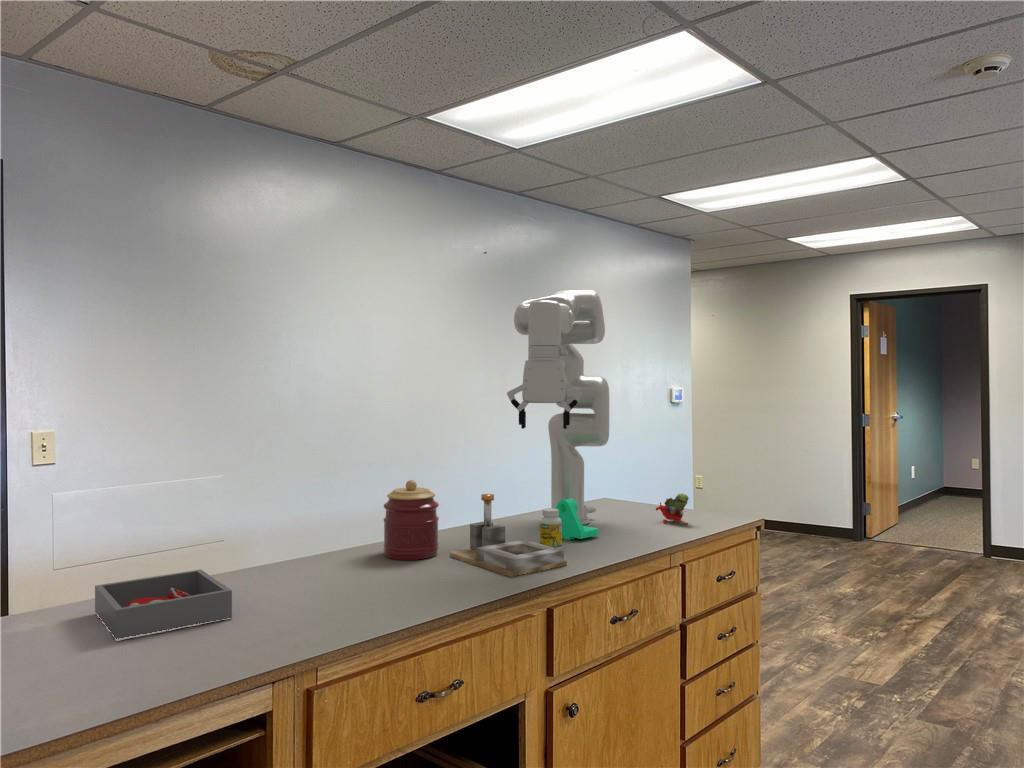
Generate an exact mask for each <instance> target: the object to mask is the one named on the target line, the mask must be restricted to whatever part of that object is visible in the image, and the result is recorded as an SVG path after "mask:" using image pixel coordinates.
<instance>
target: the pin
mask: <svg viewBox="0 0 1024 768" xmlns="http://www.w3.org/2000/svg"><path fill="white" fill-rule="evenodd" d="M480 496H481V498H480V499H481V501H483V522H484V527H487V526H491V523H492V501H494V500H495V494H493V493H482V494H481V495H480Z"/></svg>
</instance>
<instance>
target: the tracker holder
mask: <svg viewBox="0 0 1024 768" xmlns="http://www.w3.org/2000/svg"><path fill="white" fill-rule="evenodd" d="M170 590H171V591H172V592H170V593H169V597H150V598H139V599H135V600H132V601H131V602H130V603H128V604H127V605H126V607H129V606H135V605H141V604H147V603H152V602H158V601H164V600H170V599H176V598H181V597H187V596H190V595H189V594H188V593H185V592H183V591H180V590H176V589H174V588H170Z"/></svg>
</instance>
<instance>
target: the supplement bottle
mask: <svg viewBox="0 0 1024 768" xmlns="http://www.w3.org/2000/svg"><path fill="white" fill-rule="evenodd" d="M541 514H542V516H543V517H541V518H540V520H539V544H542V545H546V546H549V547H553V548H557V549H561V550H562V548H563V539H562V521H561V519H560V518H559V517H558V516H559V510H558V509H553V508H551V507H550V508H549V507H548V508H544V509H543V508H542V513H541Z"/></svg>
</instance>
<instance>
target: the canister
mask: <svg viewBox="0 0 1024 768" xmlns="http://www.w3.org/2000/svg"><path fill="white" fill-rule="evenodd" d="M435 496H436V494H435V493H434V492H433V491H431V490H430V489H429V488H427V487H418V485H417V482H416V481H415V480H413V479H409V480H408V481H406V483H405V487H399V488H395V489H393V490H392V491H391V492H389V493H388V494H387V495H386V497H387V498H388V501H387V502H385V503H384V504H383V508H384V510H385V517H383V524H384V525H383V526H384V527H383V528H384V529H383V530H384V531H383V538H384V539H383V545H382V546H383V551H384V556H385V557H387V558H389V559H392V560H399V561H415V560H416V561H417V560H425V558H426V559H429V558H433V557H435V556H436V555H438V551H439V548H440V547H439V544H440V543H439V519H440V518H439V517H438V515H437V508H439V503H438V502H437V501H435V499H434V498H435Z"/></svg>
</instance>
